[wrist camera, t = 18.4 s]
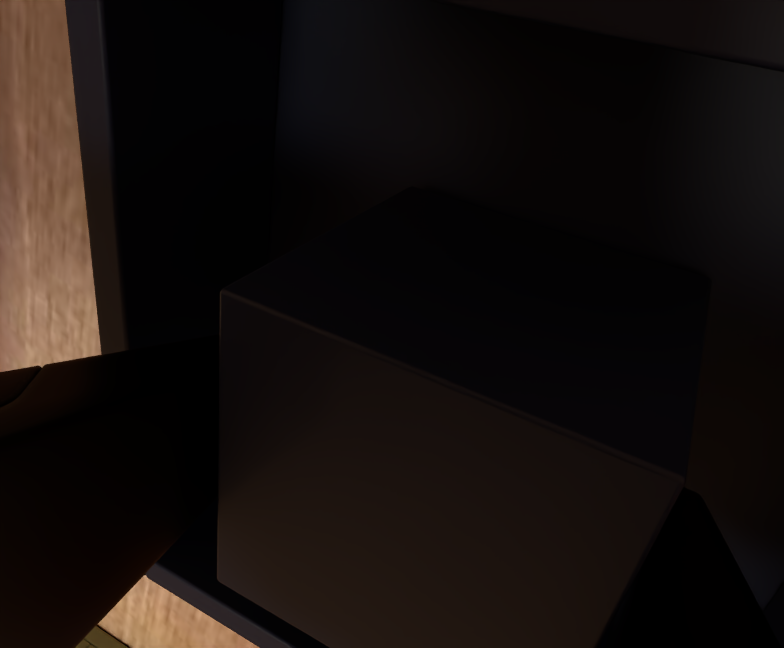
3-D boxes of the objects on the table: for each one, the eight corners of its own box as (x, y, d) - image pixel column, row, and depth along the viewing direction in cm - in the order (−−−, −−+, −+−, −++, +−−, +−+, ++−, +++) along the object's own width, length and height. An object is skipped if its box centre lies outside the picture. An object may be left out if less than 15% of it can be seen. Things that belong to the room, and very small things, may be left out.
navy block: (372, 410, 12) (215, 581, 9) (410, 184, 10) (216, 288, 6) (605, 513, 11) (534, 771, 7) (713, 277, 8) (689, 481, 5)
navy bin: (252, 445, 16) (121, 563, 12) (279, -94, 10) (47, -143, 7) (734, 686, 12) (730, 941, 9) (1208, 57, 6) (1698, 115, 3)
